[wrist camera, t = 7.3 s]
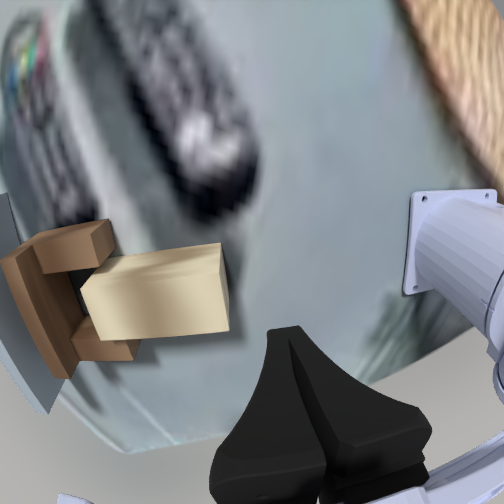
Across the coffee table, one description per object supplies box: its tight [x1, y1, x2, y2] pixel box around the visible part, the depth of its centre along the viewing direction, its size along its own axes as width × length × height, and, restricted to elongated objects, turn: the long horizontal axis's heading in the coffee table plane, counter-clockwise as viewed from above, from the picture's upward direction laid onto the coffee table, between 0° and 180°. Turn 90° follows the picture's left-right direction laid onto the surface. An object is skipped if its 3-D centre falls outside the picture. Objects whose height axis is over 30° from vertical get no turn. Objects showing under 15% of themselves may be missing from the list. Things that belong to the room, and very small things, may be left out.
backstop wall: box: [0, 192, 65, 414], centre depth 17 cm, size 2×16×6 cm, turn 6°
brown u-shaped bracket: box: [0, 219, 141, 379], centre depth 17 cm, size 6×9×5 cm, turn 6°
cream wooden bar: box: [80, 243, 229, 341], centre depth 18 cm, size 8×4×4 cm, turn 96°
